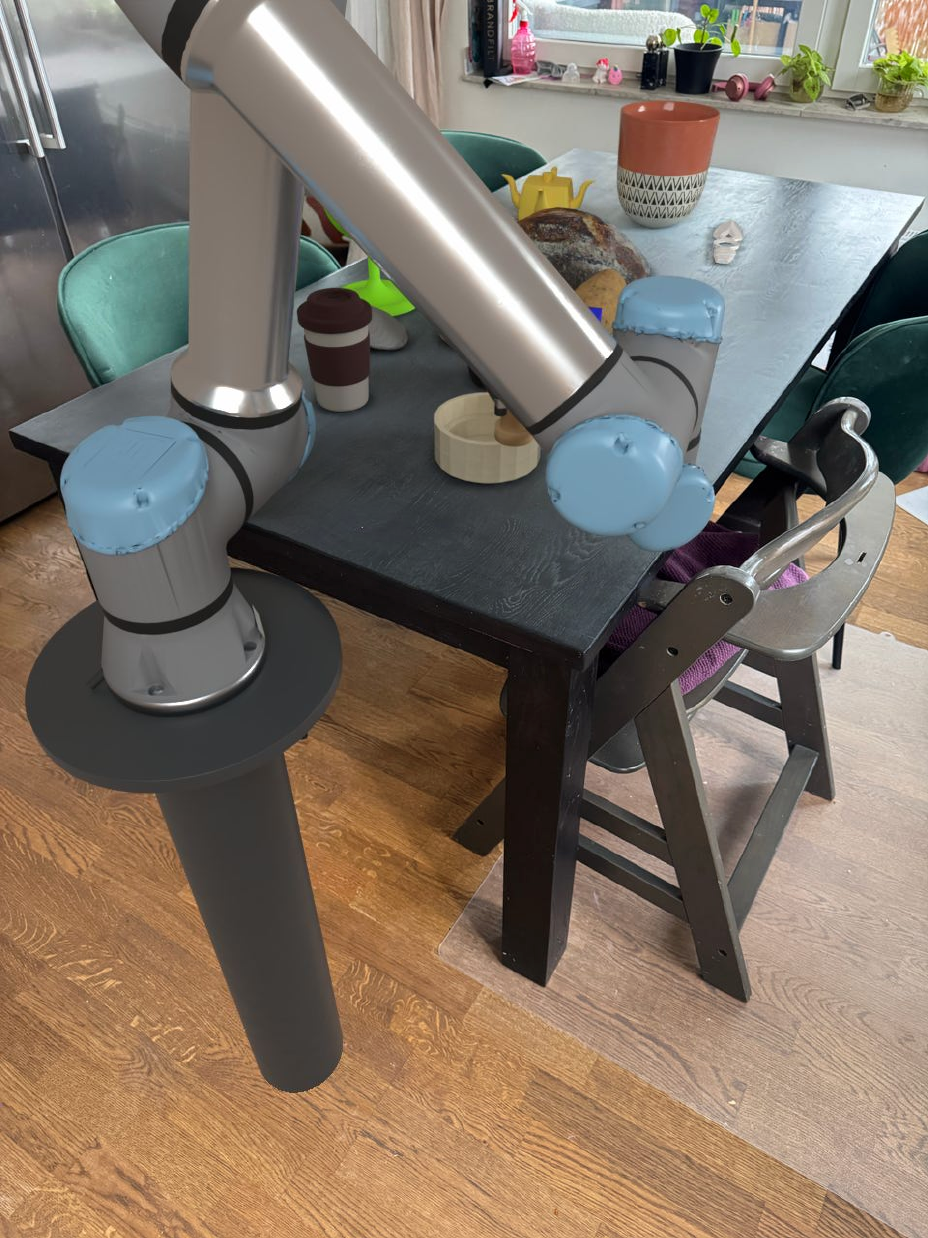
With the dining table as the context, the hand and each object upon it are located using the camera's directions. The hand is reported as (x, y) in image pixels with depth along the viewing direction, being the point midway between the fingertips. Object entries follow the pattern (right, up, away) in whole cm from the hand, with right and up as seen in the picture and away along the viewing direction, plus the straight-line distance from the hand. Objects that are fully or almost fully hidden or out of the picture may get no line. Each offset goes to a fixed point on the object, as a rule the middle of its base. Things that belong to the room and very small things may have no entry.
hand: (499, 326), depth 93 cm
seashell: (-18, +13, +45) cm, 50 cm away
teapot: (+14, +54, +93) cm, 108 cm away
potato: (+17, +14, +47) cm, 52 cm away
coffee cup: (-21, -1, +30) cm, 36 cm away
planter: (+37, +53, +91) cm, 112 cm away
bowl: (-1, -11, +18) cm, 21 cm away
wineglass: (-19, +24, +59) cm, 66 cm away
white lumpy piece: (+50, +45, +82) cm, 106 cm away
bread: (+15, +35, +71) cm, 80 cm away
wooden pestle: (+2, -11, +3) cm, 12 cm away
